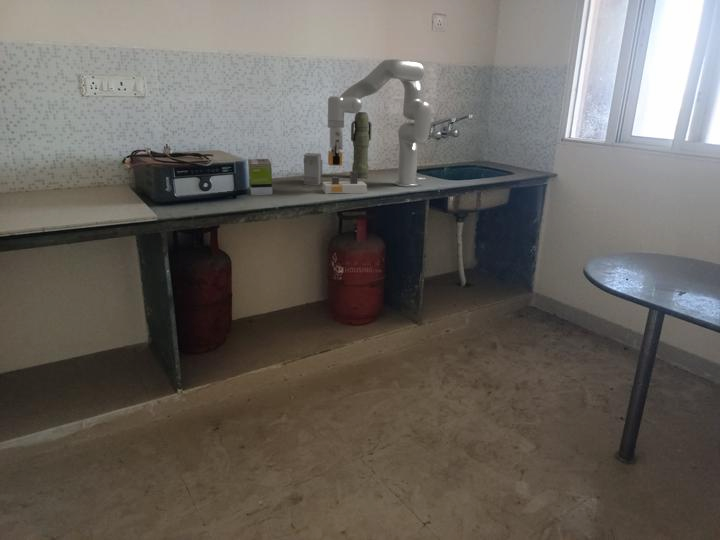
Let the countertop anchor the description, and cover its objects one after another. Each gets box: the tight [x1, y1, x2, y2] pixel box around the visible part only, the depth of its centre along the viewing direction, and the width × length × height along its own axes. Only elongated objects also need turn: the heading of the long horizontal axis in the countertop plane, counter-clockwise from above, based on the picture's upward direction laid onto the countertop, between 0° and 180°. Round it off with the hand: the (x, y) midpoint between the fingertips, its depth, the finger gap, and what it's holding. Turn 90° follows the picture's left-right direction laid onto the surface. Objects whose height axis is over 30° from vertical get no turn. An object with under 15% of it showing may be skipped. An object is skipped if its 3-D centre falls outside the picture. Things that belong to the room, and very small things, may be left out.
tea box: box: [247, 158, 273, 196], centre depth 247 cm, size 15×10×15 cm, turn 14°
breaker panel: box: [322, 180, 368, 195], centre depth 255 cm, size 20×10×4 cm, turn 102°
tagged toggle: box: [331, 176, 340, 184], centre depth 254 cm, size 3×3×7 cm
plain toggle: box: [349, 170, 358, 184], centre depth 255 cm, size 3×3×7 cm
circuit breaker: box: [303, 152, 323, 186], centre depth 274 cm, size 8×14×15 cm, turn 174°
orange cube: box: [327, 150, 343, 167], centre depth 249 cm, size 6×6×6 cm
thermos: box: [350, 111, 373, 179], centre depth 289 cm, size 9×12×35 cm
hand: (335, 163), depth 250 cm, fingers closed on orange cube, 5 cm apart
